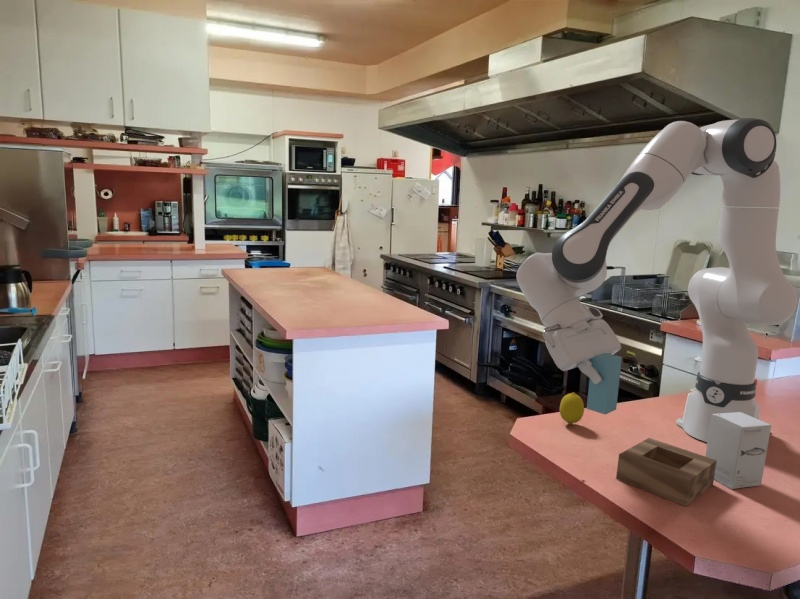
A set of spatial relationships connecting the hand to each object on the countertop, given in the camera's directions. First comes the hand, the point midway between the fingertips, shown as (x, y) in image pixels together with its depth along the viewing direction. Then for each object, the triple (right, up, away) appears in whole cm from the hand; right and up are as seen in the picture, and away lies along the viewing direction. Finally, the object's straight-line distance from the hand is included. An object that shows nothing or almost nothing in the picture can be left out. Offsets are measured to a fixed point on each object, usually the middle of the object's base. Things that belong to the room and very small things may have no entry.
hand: (607, 379), depth 114 cm
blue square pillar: (-1, -6, +2) cm, 6 cm away
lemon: (-1, -14, +23) cm, 27 cm away
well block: (+9, -19, -4) cm, 22 cm away
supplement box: (+24, -20, -1) cm, 31 cm away
